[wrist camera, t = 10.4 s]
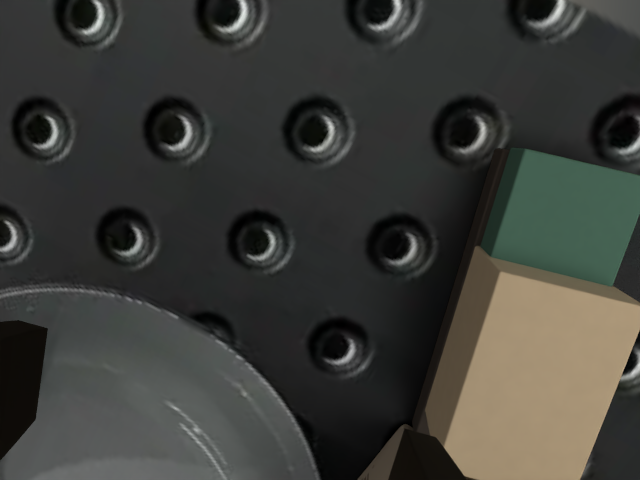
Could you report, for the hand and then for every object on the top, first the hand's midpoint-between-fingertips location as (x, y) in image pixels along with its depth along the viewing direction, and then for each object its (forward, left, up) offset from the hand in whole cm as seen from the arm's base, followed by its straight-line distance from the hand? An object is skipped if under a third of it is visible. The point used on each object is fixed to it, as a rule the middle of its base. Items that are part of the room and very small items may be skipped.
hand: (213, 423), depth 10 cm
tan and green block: (+1, -8, -10) cm, 13 cm away
